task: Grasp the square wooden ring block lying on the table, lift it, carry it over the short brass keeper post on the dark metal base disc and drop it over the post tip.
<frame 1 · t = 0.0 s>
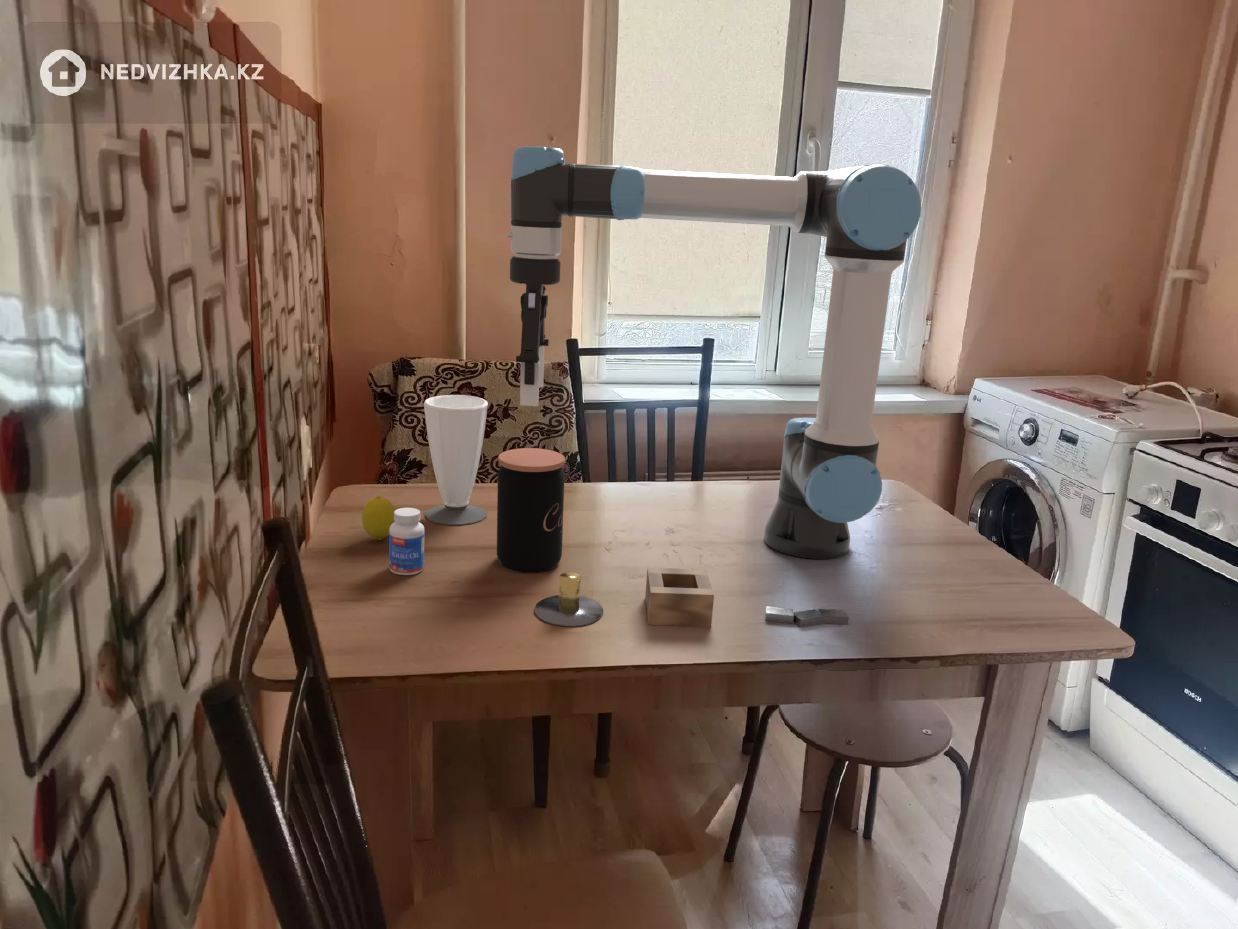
hand: (532, 395, 142), 28 cm above the table, fingers open, 13 cm apart
square wooden ring block: (677, 611, 135), on the table
keeper: (568, 611, 134), on the table
lemon: (379, 541, 156), on the table
coffee jar: (529, 562, 151), on the table
cup: (456, 515, 170), on the table
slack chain: (805, 619, 135), on the table
pill bottle: (407, 570, 145), on the table
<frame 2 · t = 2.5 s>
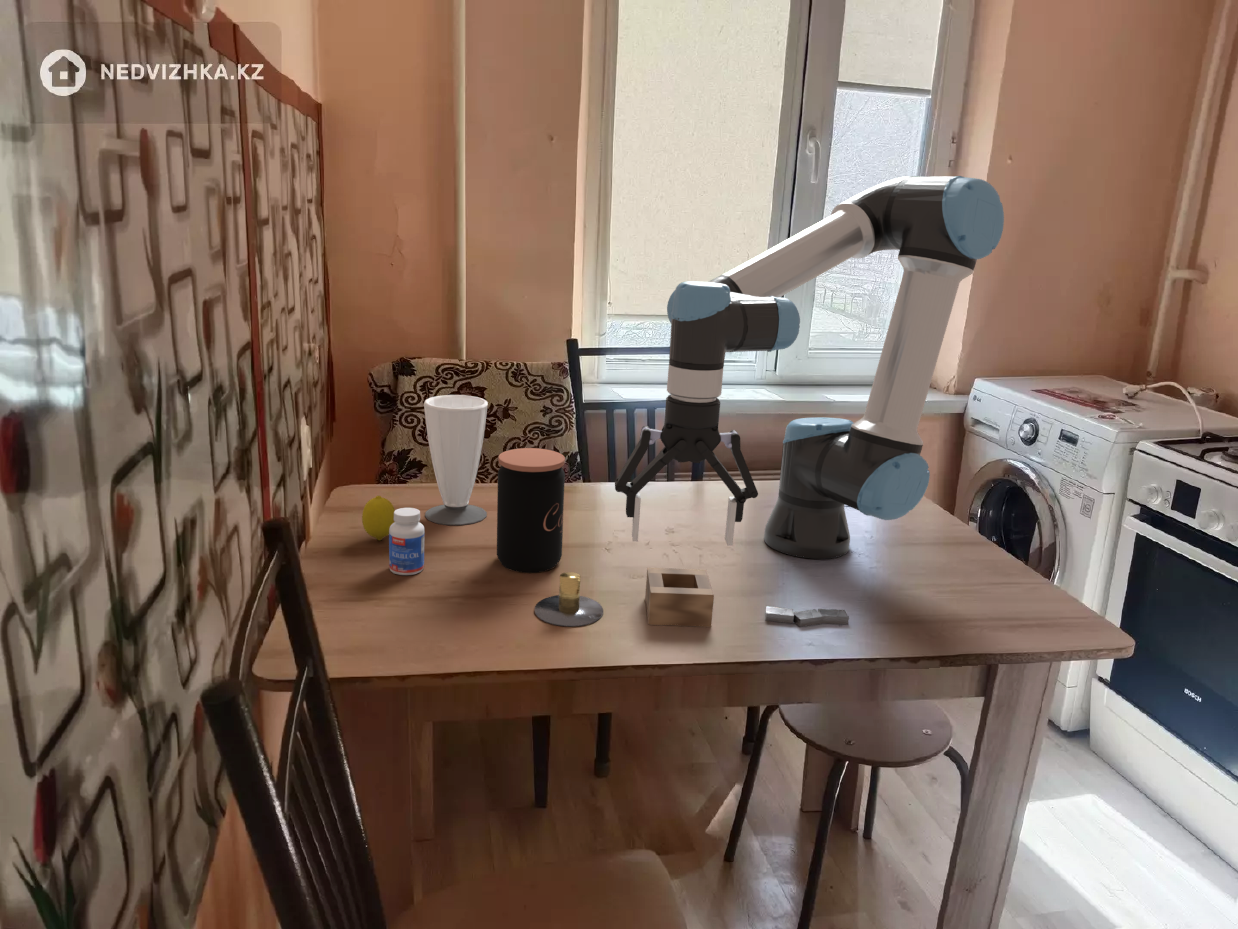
hand: (681, 540, 132), 11 cm above the table, fingers open, 13 cm apart
nothing on the table moved.
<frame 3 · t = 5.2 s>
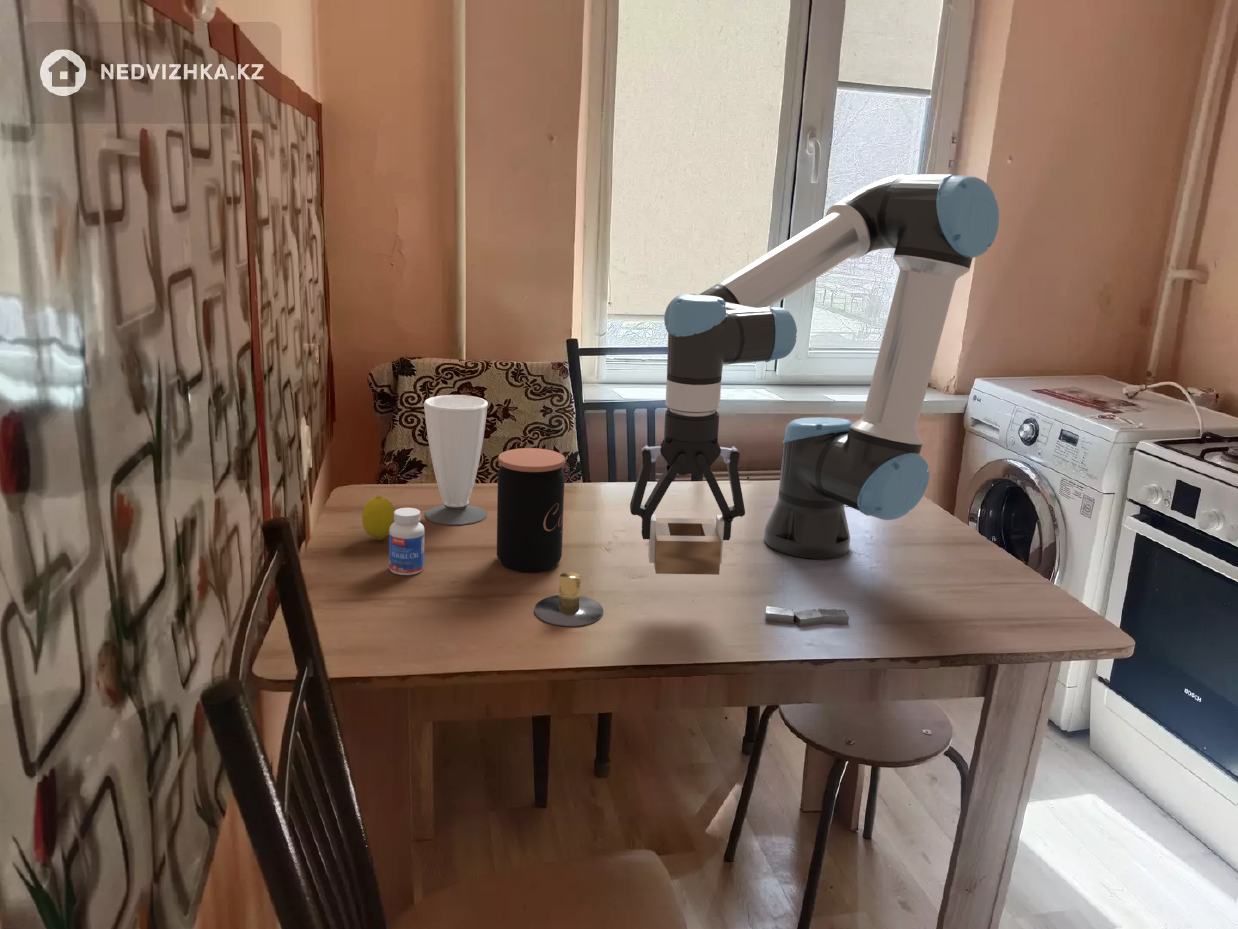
hand: (684, 559, 133), 8 cm above the table, fingers closed on square wooden ring block, 9 cm apart
square wooden ring block: (684, 561, 133), point 8 cm above the table, touching gripper
everything else where it was.
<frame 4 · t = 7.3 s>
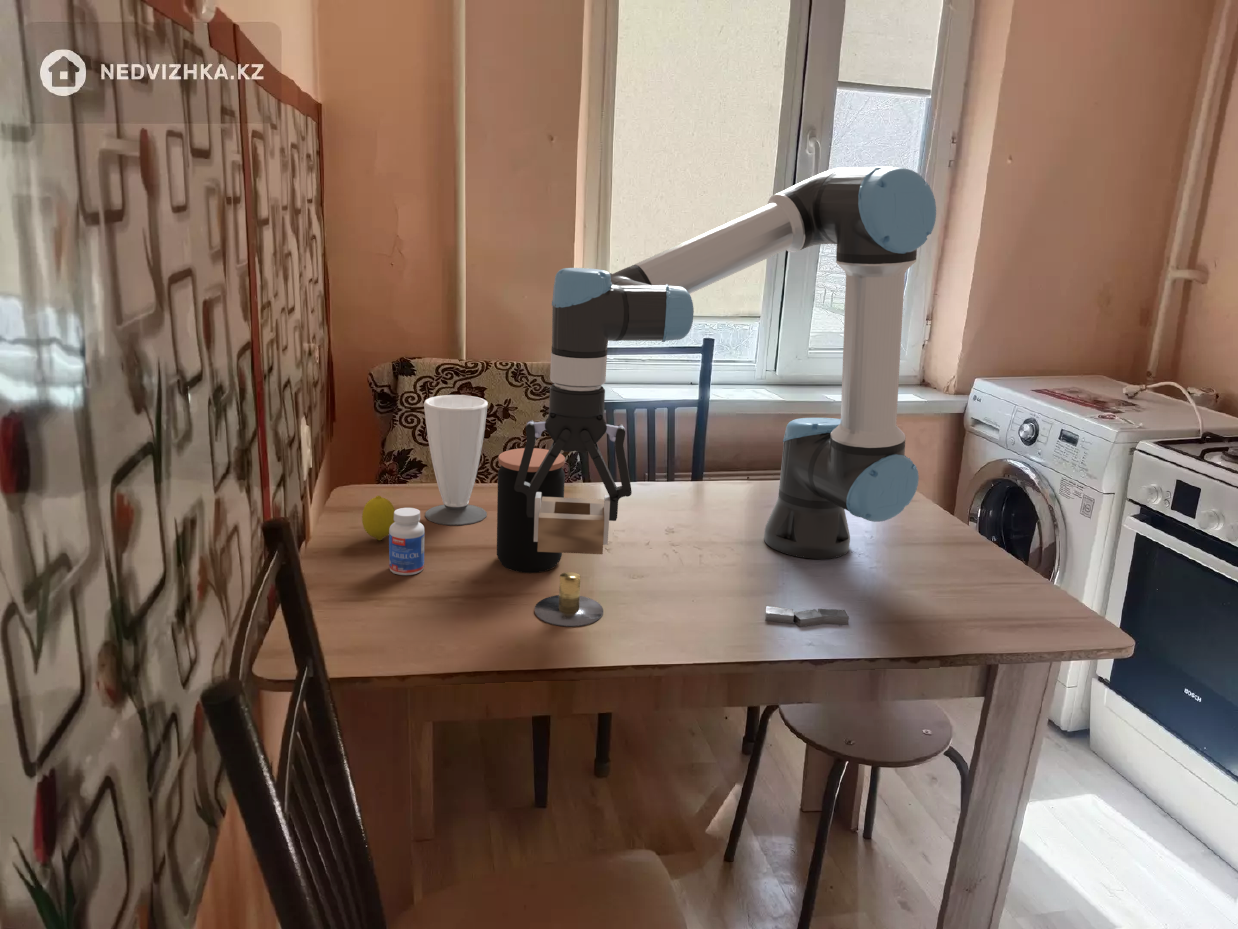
hand: (571, 539, 131), 11 cm above the table, fingers closed on square wooden ring block, 9 cm apart
square wooden ring block: (570, 541, 131), point 11 cm above the table, touching gripper
everything else where it was.
when the fingers open (2 cm above the table, at t = 9.7 s): square wooden ring block drops 1 cm, resting on keeper.
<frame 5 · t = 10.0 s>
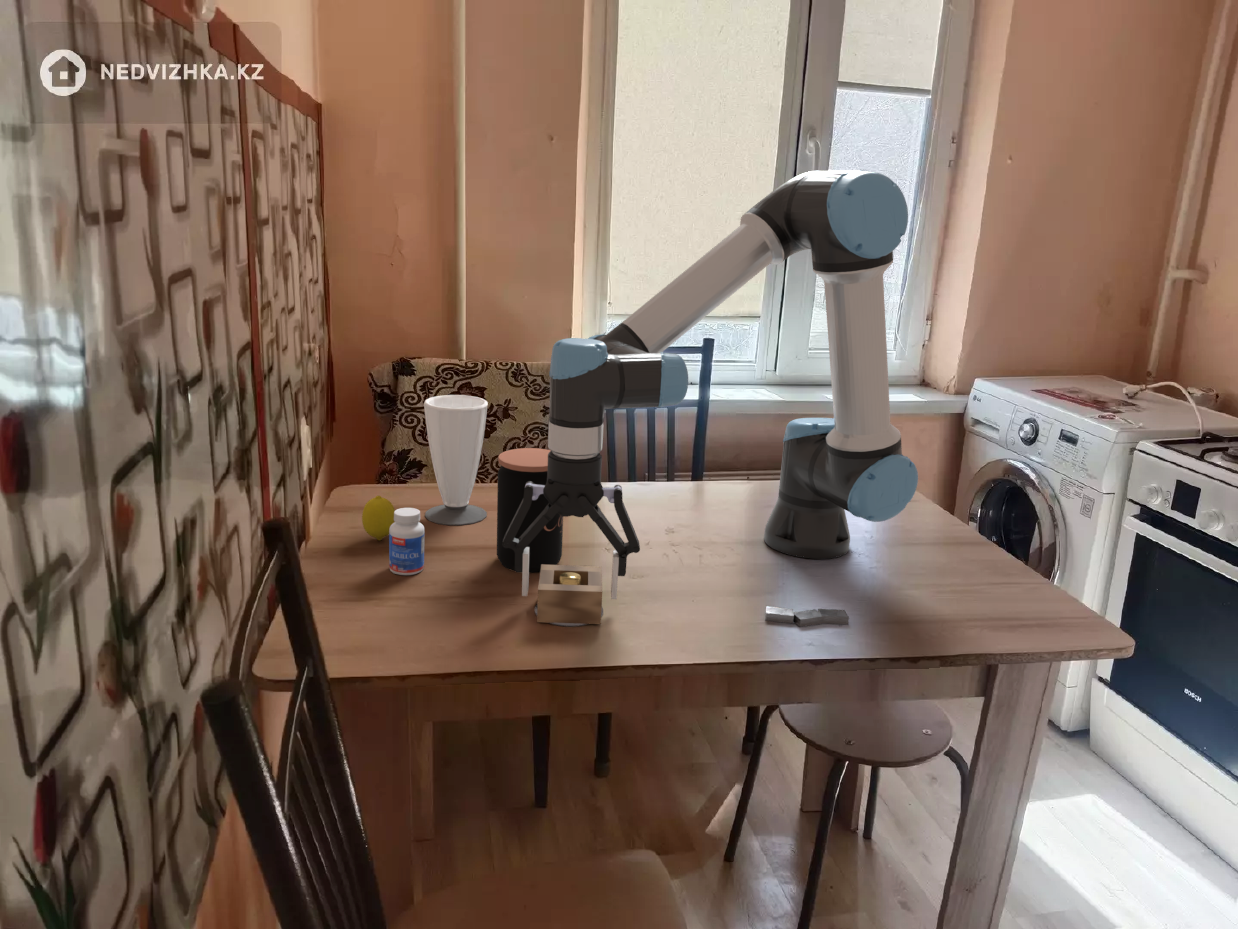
hand: (569, 594, 133), 3 cm above the table, fingers open, 12 cm apart
square wooden ring block: (569, 609, 134), resting on keeper
everything else where it was.
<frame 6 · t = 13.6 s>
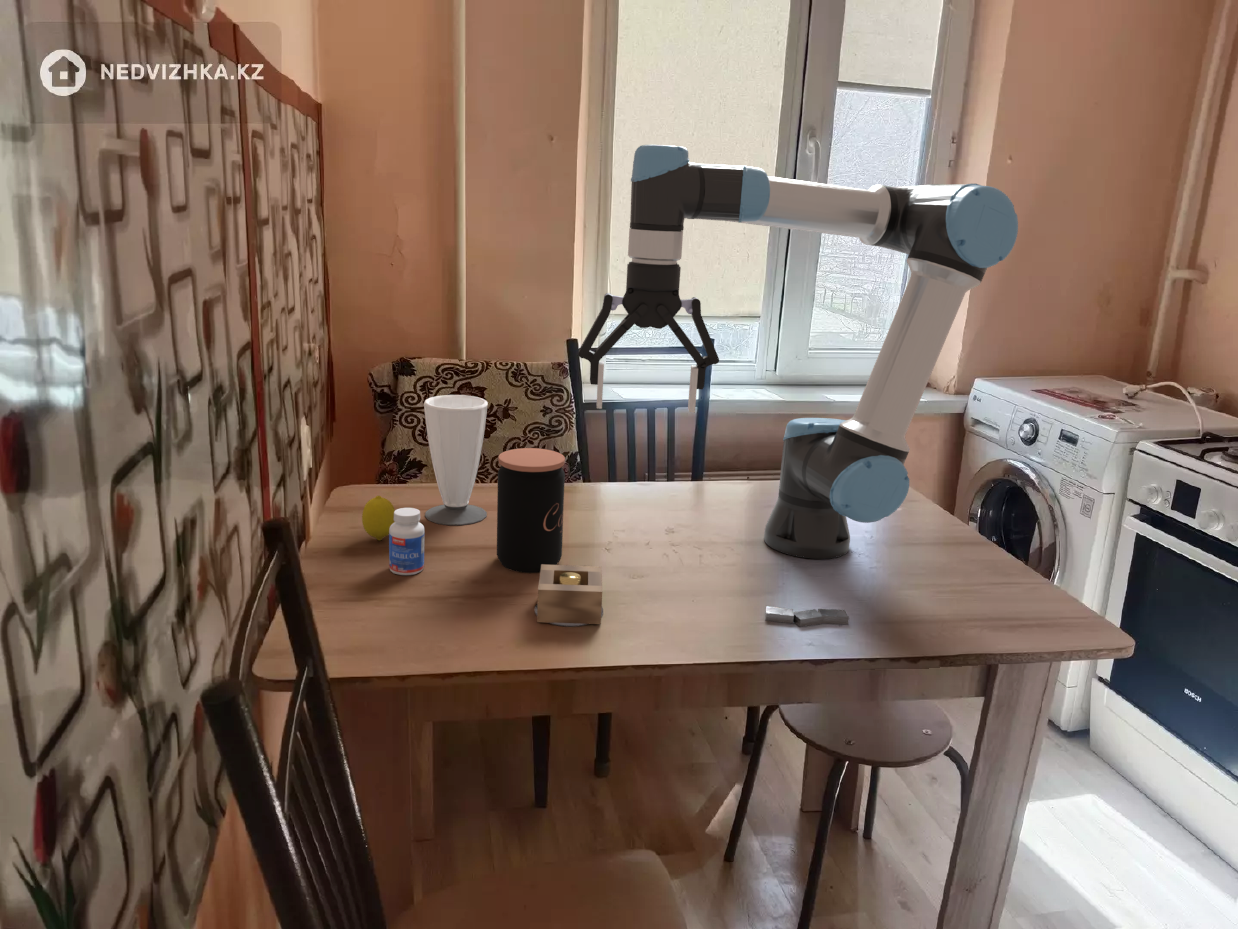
hand: (645, 408, 135), 29 cm above the table, fingers open, 13 cm apart
nothing on the table moved.
at the end: square wooden ring block 0.1 cm off-centre on the keeper, point 0.3 cm above the keeper's base; the gripper is holding nothing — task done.
